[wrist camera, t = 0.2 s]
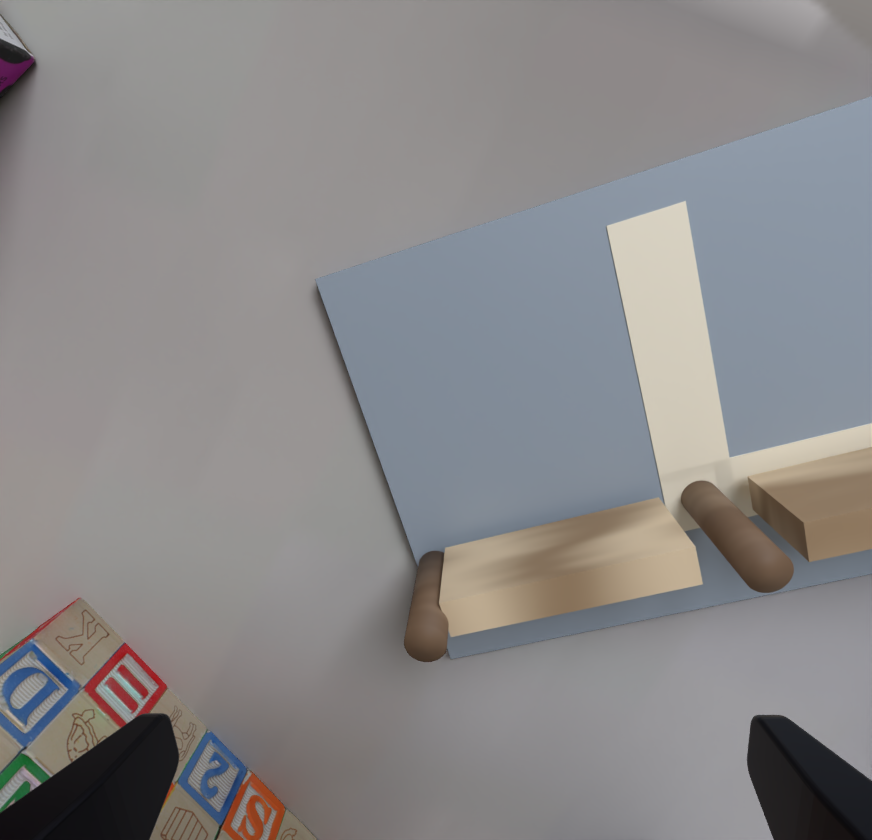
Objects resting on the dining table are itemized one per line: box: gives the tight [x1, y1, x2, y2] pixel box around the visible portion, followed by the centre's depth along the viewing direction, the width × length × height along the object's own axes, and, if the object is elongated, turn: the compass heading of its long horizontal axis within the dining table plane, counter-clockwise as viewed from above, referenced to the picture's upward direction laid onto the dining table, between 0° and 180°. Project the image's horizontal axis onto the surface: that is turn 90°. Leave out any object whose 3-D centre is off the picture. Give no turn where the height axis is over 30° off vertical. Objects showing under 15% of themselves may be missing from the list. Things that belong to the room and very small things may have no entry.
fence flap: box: [404, 497, 703, 662], centre depth 19 cm, size 10×1×5 cm, turn 107°
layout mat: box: [315, 96, 872, 659], centre depth 20 cm, size 17×23×1 cm
